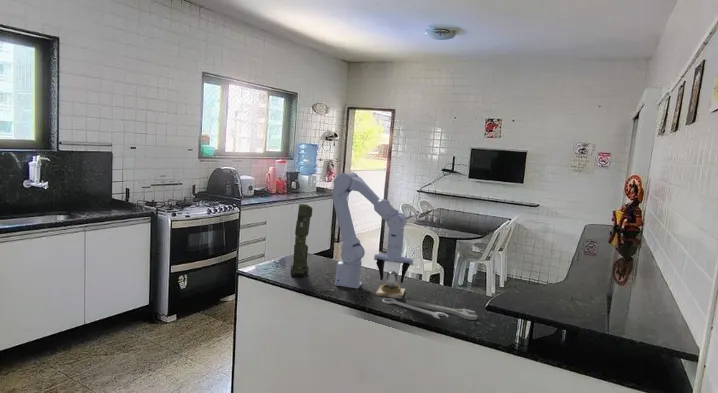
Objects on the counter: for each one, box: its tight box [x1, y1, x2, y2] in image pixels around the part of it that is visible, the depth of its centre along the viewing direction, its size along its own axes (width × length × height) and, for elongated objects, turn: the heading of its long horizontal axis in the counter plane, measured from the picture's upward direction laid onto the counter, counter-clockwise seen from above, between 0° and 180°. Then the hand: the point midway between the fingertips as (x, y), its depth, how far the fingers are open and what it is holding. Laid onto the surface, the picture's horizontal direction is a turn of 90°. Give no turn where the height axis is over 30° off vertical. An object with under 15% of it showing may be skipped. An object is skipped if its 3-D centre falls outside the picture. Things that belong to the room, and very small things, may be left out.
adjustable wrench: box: [405, 299, 478, 321], centre depth 160 cm, size 25×6×2 cm, turn 62°
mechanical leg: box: [290, 203, 313, 279], centre depth 189 cm, size 14×7×30 cm, turn 179°
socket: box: [375, 283, 406, 300], centre depth 174 cm, size 10×10×2 cm
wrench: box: [381, 297, 449, 320], centre depth 159 cm, size 25×2×5 cm
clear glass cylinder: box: [385, 270, 399, 289], centre depth 173 cm, size 4×4×8 cm
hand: (391, 280), depth 174 cm, fingers open, 7 cm apart
